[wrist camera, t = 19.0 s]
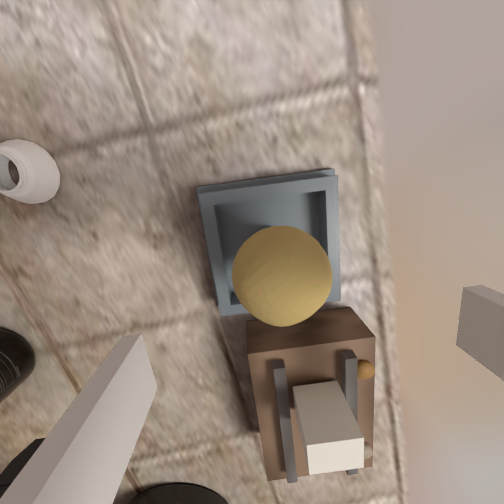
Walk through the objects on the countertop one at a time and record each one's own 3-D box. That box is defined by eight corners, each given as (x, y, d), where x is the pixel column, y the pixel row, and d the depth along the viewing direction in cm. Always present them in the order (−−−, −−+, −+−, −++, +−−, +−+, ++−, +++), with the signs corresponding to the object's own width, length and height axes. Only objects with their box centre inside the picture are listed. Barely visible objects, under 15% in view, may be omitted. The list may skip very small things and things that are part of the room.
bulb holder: (219, 307, 25) (217, 321, 23) (196, 186, 22) (190, 188, 19) (335, 291, 25) (346, 304, 23) (332, 168, 22) (344, 167, 19)
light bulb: (219, 243, 23) (205, 293, 13) (272, 196, 22) (299, 212, 12) (265, 290, 24) (282, 365, 15) (316, 248, 23) (371, 299, 14)
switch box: (263, 433, 30) (268, 492, 25) (246, 321, 26) (247, 362, 20) (351, 421, 30) (377, 477, 25) (350, 307, 26) (381, 344, 20)
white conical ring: (-14, 162, 21) (32, 213, 22) (-54, 160, 18) (1, 219, 19) (31, 128, 20) (75, 183, 21) (-3, 120, 17) (50, 184, 19)
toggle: (295, 412, 23) (309, 475, 18) (292, 386, 22) (306, 445, 17) (337, 406, 23) (363, 467, 18) (337, 380, 22) (363, 437, 17)
